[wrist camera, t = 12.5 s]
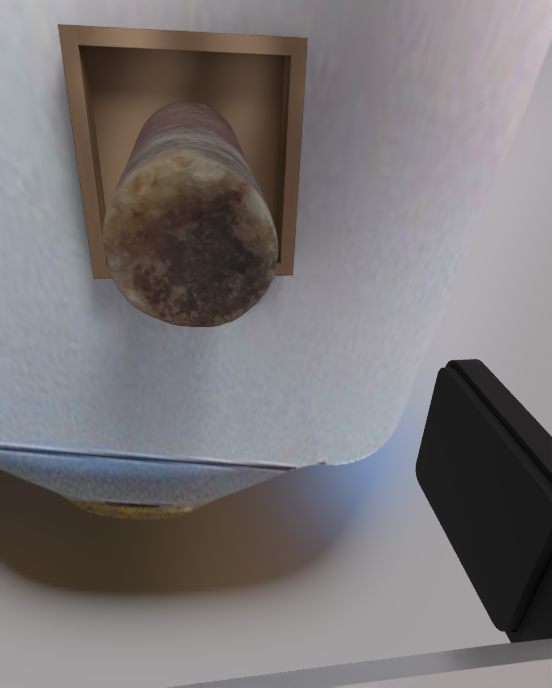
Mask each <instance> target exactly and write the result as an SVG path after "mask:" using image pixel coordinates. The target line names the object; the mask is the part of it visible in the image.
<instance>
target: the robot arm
mask: <svg viewBox="0 0 552 688" xmlns="http://www.w3.org/2000/svg"><path fill="white" fill-rule="evenodd" d="M416 476H417V480H418V482H419V484H420V486H421V488H422V490H423V492H424V494H425V496H426V498H427V499H428V501H429V503H430V505H431V507H432V509H433V511H434V513H435V514H436V516H437V518H438V520H439V522H440V524H441V526H442V528H443V529H444V531H445V533H446V535H447V537H448V539H449V541H450V543H451V544H452V547H453V549H454V550H455V552H456V554H457V556H458V558H459V559H460V562H461V564H462V566H463V568H464V569H465V571H466V573H467V575H468V577H469V579H470V581H471V583H472V584H473V586H474V588H475V590H476V592H477V594H478V596H479V598H480V599H481V602H482V603H483V605H484V607H485V609H486V611H487V613H488V615H489V616H490V618H491V620H492V622H493V624H494V625H495V627H496V628H497V629H498V630H500V631H505V632H506V634H507V636H508V638H509V640H510V641H511V643H508V644H498V645H490V646H482V647H474V648H466V649H459V650H451V651H443V652H435V653H428V654H419V655H411V656H403V657H396V658H388V659H380V660H372V661H365V662H356V663H349V664H341V665H334V666H326V667H318V668H311V669H303V670H296V671H288V672H280V673H273V674H266V675H258V676H250V677H243V678H235V679H228V680H221V681H213V682H205V683H198V684H190V685H183V686H175V687H168V688H552V437H551V435H550V434H549V433H548V432H547V431H546V430H545V429H544V428H543V427H542V426H541V425H540V424H539V423H538V421H537V420H536V419H535V418H534V417H533V416H532V415H531V414H530V413H529V412H528V411H527V410H526V409H525V408H524V406H523V405H522V404H521V403H520V402H519V401H518V400H517V399H516V398H515V397H514V396H513V395H512V394H511V392H510V391H509V390H508V389H507V388H506V387H505V386H504V385H503V384H502V383H501V382H500V381H499V380H498V379H497V377H496V376H495V375H494V374H493V373H492V372H491V371H490V370H489V369H488V368H487V367H486V366H485V365H484V364H483V362H481V361H480V360H477V359H473V360H472V359H470V360H451V361H449V362H448V363H447V365H446V367H445V368H441V369H440V370H439V372H438V375H437V379H436V383H435V387H434V391H433V395H432V400H431V404H430V408H429V412H428V416H427V421H426V425H425V429H424V433H423V437H422V441H421V446H420V450H419V454H418V458H417V462H416Z"/></svg>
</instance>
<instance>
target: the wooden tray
mask: <svg viewBox="0 0 552 688" xmlns="http://www.w3.org/2000/svg"><path fill="white" fill-rule="evenodd" d="M58 29H59V37H60V44H61V51H62V58H63V65H64V72H65V79H66V86H67V93H68V100H69V107H70V114H71V122H72V129H73V136H74V143H75V150H76V157H77V164H78V171H79V178H80V185H81V192H82V199H83V207H84V214H85V221H86V228H87V235H88V242H89V249H90V256H91V263H92V270H93V277H94V279H113V278H112V275H111V273H110V270H109V268H108V264H107V259H106V256H105V253H104V245H103V243H102V236H103V228H102V225H103V222H104V218H105V214H106V211H107V208H108V206H109V203H110V200H111V198H112V196H113V194H114V192H115V189H116V187H117V185H118V182H119V179H120V177H121V175H122V173H123V171H124V169H125V167H126V165H127V163H128V160H129V157H130V155H131V153H132V150H133V148H134V145H135V142H136V140H137V137H138V135H139V133H140V131H141V129H142V127H143V125H144V124H145V122H146V121H147V120H148V119H149V118H150V117H151V116H152V115H153V114H154V113H155V112H156V111H157V110H159V109H160V108H162V107H164V106H166V105H168V104H171V103H174V102H194V103H199V104H203V105H207V106H209V107H211V108H212V109H214V110H215V111H217V112H218V113H219V114H220V115H222V116H223V117H224V119H225V120H226V121H227V122H228V123H229V125H230V126H231V128H232V130H233V132H234V133H235V135H236V137H237V139H238V142H239V144H240V146H241V148H242V150H243V153H244V156H245V158H246V161H247V163H248V165H249V167H250V170H251V172H252V174H253V176H254V178H255V180H256V182H257V184H258V186H259V188H260V190H261V193H262V195H263V197H264V199H265V201H266V203H267V206H268V208H269V211H270V213H271V216H272V220H273V223H274V226H275V229H276V233H277V240H278V259H277V264H276V268H275V273H274V276H288V275H293V265H294V249H295V233H296V217H297V201H298V185H299V168H300V152H301V136H302V120H303V104H304V88H305V72H306V56H307V40H308V38H297V37H278V36H260V35H242V34H224V33H206V32H188V31H170V30H151V29H133V28H115V27H97V26H79V25H61V24H58Z"/></svg>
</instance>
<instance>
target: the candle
mask: <svg viewBox="0 0 552 688" xmlns="http://www.w3.org/2000/svg"><path fill="white" fill-rule="evenodd" d="M102 228H103V236H102V243H103V245H104V253H105V256H106V259H107V264H108V268H109V270H110V273H111V275H112V278H113V280H114V282H115V284H116V286H117V288H118V290H119V291H120V292H121V293H122V294H123V295H124V296H125V298H126V299H127V300H128V301H129V303H130V304H131V305H133V306H134V307H136V308H137V309H139V310H141V311H142V312H144V313H146V314H147V315H150V316H152V317H154V318H158V319H160V320H162V321H164V322H167V323H170V324H173V325H178V326H189V327H213V326H219V325H222V324H225V323H228V322H232V321H234V320H235V319H237V318H239V317H240V316H242V315H243V314H244V313H245V312H247V311H248V310H249V309H250V308H252V307H253V306H254V305H255V304H256V303H257V302H258V301H259V300H260V298H261V297H262V296H263V295H264V294H265V292H266V291H267V289H268V287H269V285H270V283H271V281H272V280H273V279H274V273H275V268H276V264H277V259H278V240H277V233H276V229H275V226H274V223H273V220H272V216H271V213H270V211H269V208H268V206H267V203H266V201H265V199H264V197H263V195H262V193H261V190H260V188H259V186H258V184H257V182H256V180H255V178H254V176H253V174H252V172H251V170H250V167H249V165H248V163H247V161H246V158H245V156H244V153H243V150H242V148H241V146H240V144H239V142H238V139H237V137H236V135H235V133H234V132H233V130H232V128H231V126H230V125H229V123H228V122H227V121H226V120H225V119H224V117H223V116H222V115H220V114H219V113H218V112H217V111H215V110H214V109H212V108H211V107H209V106H207V105H203V104H199V103H194V102H174V103H171V104H168V105H166V106H164V107H162V108H160V109H159V110H157V111H156V112H155V113H154V114H153V115H152V116H151V117H150V118H149V119H148V120H147V121H146V122H145V124H144V125H143V127H142V129H141V131H140V133H139V135H138V137H137V140H136V142H135V145H134V148H133V150H132V153H131V155H130V157H129V160H128V163H127V165H126V167H125V169H124V171H123V173H122V175H121V177H120V179H119V182H118V185H117V187H116V189H115V192H114V194H113V196H112V198H111V200H110V203H109V206H108V208H107V211H106V214H105V218H104V222H103V225H102Z"/></svg>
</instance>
